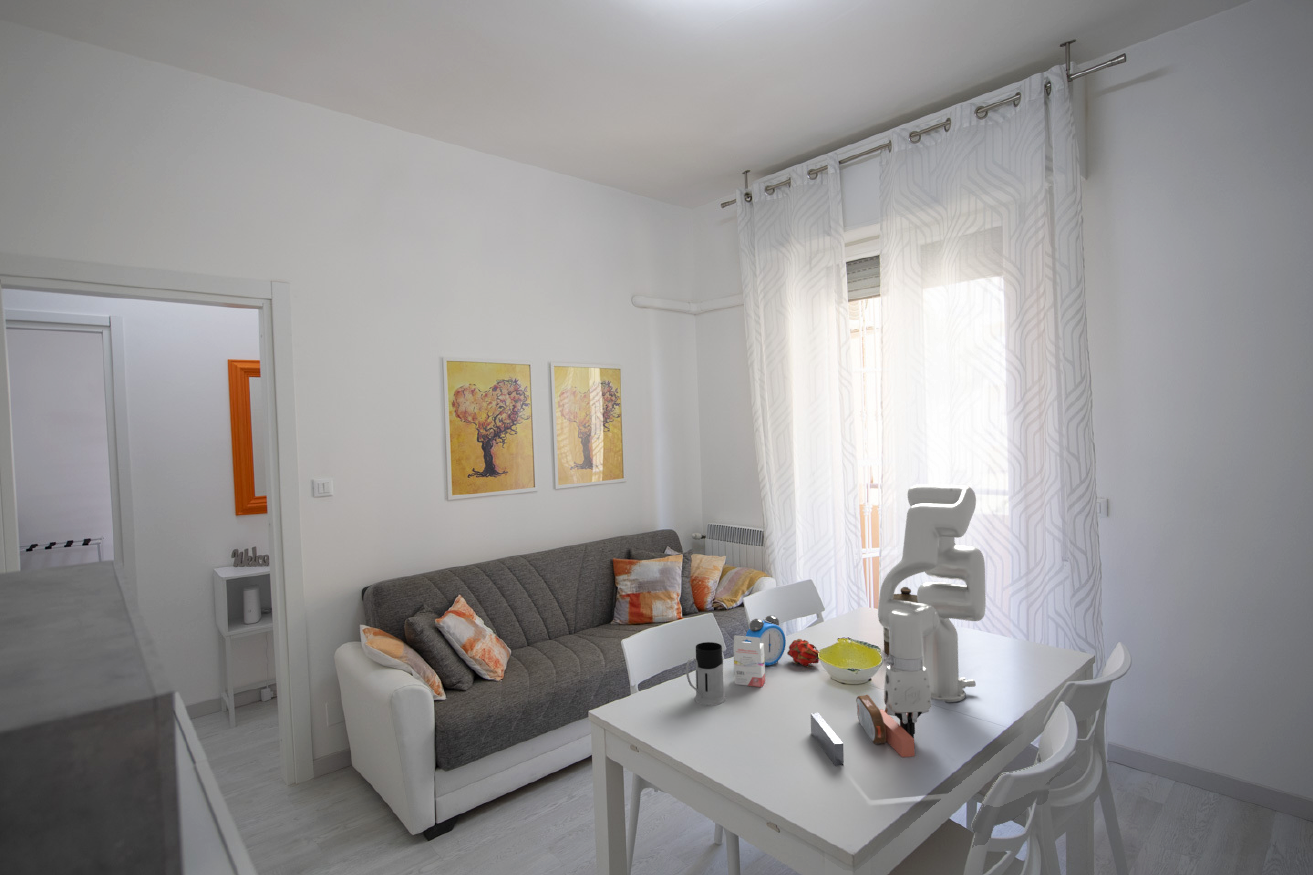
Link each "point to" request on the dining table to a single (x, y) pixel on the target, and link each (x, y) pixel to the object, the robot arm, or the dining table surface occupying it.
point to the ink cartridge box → (749, 661)
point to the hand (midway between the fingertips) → (907, 736)
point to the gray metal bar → (827, 739)
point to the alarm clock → (768, 638)
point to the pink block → (898, 736)
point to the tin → (871, 719)
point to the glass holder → (708, 674)
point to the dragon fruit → (803, 652)
